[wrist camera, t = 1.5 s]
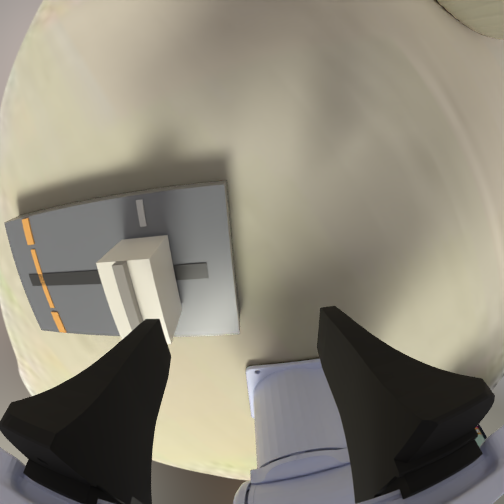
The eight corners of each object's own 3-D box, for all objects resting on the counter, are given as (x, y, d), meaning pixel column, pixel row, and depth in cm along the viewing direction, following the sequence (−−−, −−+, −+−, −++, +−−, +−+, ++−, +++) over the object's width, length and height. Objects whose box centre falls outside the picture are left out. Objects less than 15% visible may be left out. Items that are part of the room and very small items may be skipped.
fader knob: (167, 235, 15) (145, 263, 11) (182, 309, 17) (169, 349, 13) (122, 239, 15) (91, 267, 11) (140, 310, 17) (120, 348, 13)
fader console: (226, 180, 16) (224, 184, 14) (239, 317, 20) (239, 335, 18) (19, 215, 16) (3, 223, 14) (51, 318, 20) (41, 330, 18)
